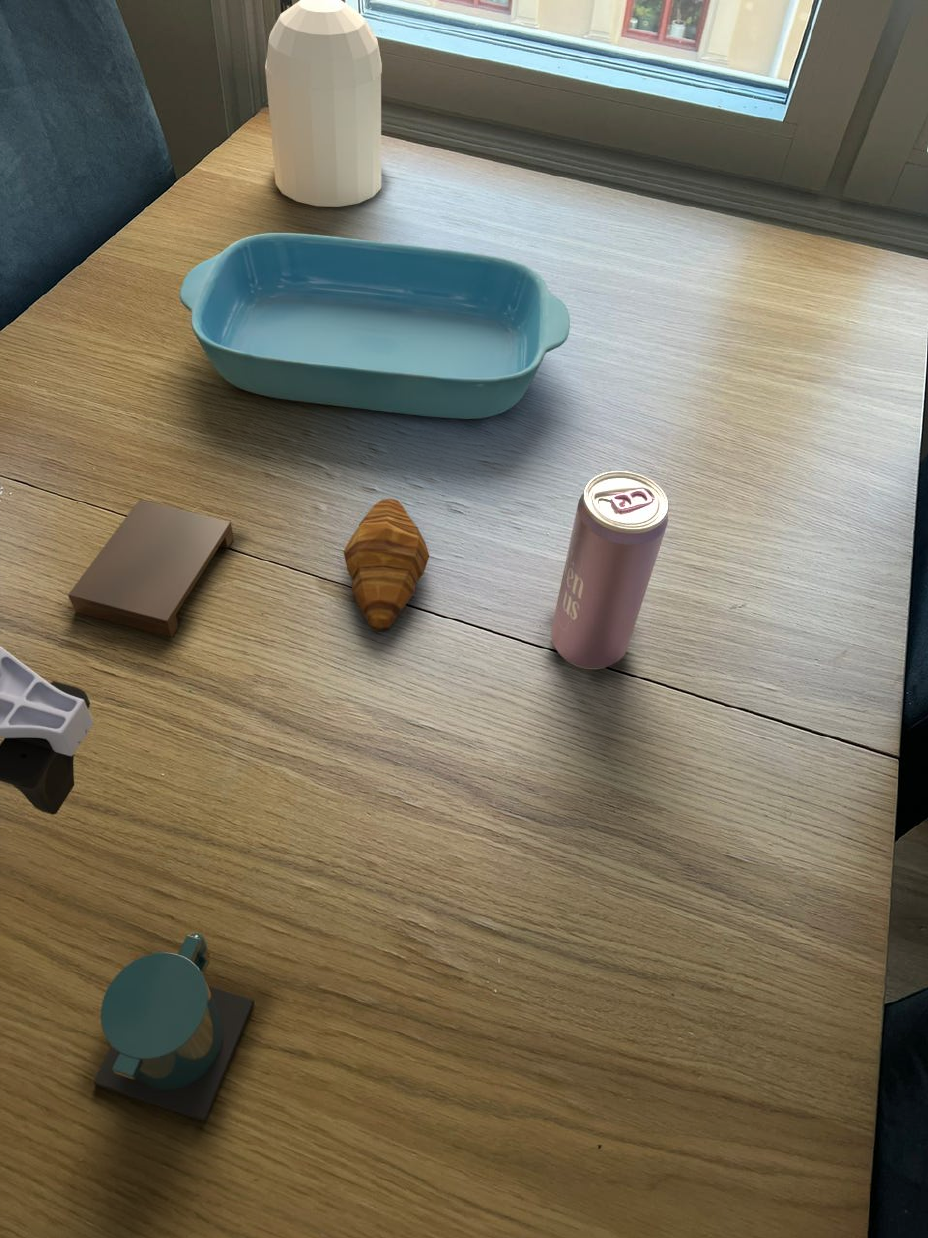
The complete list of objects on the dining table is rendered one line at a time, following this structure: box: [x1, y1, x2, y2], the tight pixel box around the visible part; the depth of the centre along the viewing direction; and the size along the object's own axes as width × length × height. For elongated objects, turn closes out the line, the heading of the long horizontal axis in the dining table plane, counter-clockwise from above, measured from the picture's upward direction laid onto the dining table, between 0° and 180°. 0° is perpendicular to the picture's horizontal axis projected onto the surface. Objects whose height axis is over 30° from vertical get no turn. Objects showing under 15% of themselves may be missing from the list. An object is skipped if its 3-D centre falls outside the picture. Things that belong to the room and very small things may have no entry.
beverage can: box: [550, 470, 670, 670], centre depth 66 cm, size 6×6×15 cm
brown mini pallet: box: [67, 498, 234, 638], centre depth 73 cm, size 8×11×2 cm
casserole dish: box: [179, 232, 571, 420], centre depth 91 cm, size 37×22×7 cm, turn 86°
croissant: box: [343, 498, 430, 632], centre depth 73 cm, size 14×7×5 cm, turn 0°
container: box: [264, 0, 383, 208], centre depth 110 cm, size 13×13×20 cm
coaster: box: [92, 985, 255, 1122], centre depth 51 cm, size 6×6×1 cm
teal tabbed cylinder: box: [100, 932, 224, 1090], centre depth 49 cm, size 5×8×6 cm
